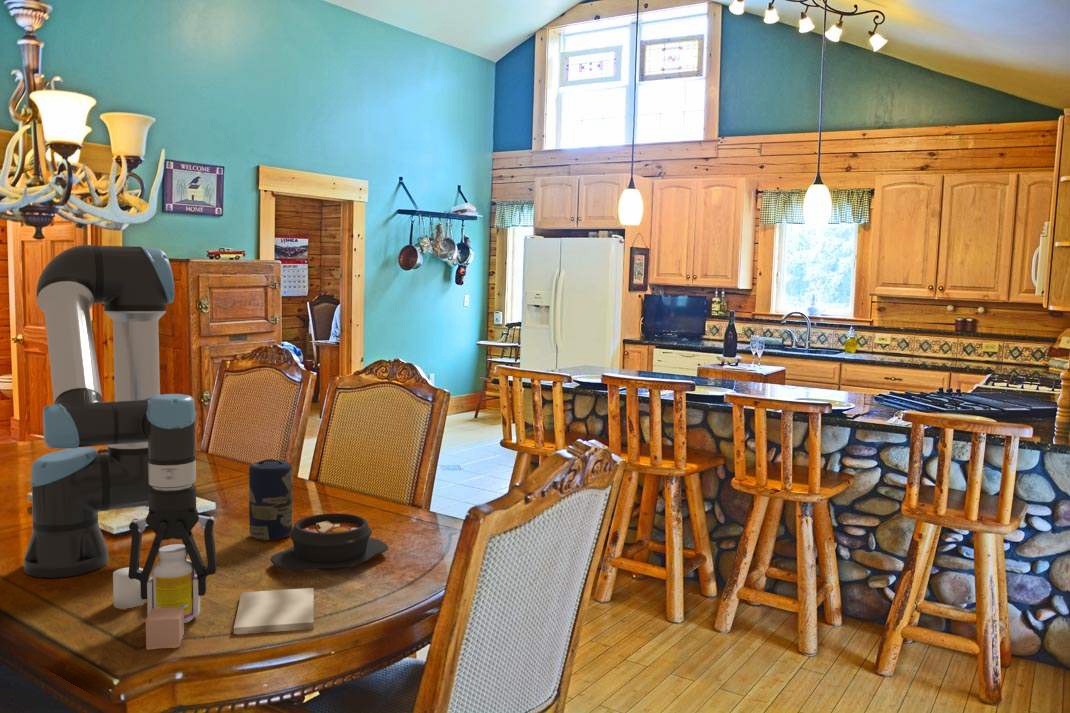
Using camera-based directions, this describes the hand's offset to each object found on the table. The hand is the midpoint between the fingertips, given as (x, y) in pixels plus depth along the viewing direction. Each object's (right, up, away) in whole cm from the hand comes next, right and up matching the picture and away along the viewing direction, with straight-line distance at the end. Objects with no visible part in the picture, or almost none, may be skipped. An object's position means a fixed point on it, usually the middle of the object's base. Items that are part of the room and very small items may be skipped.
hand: (174, 614), depth 149 cm
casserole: (+20, +1, +32) cm, 38 cm away
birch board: (+16, -1, +4) cm, 17 cm away
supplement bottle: (0, -1, 0) cm, 1 cm away
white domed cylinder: (-11, 0, +7) cm, 13 cm away
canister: (+2, +4, +47) cm, 47 cm away
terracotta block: (+2, -2, -9) cm, 9 cm away
